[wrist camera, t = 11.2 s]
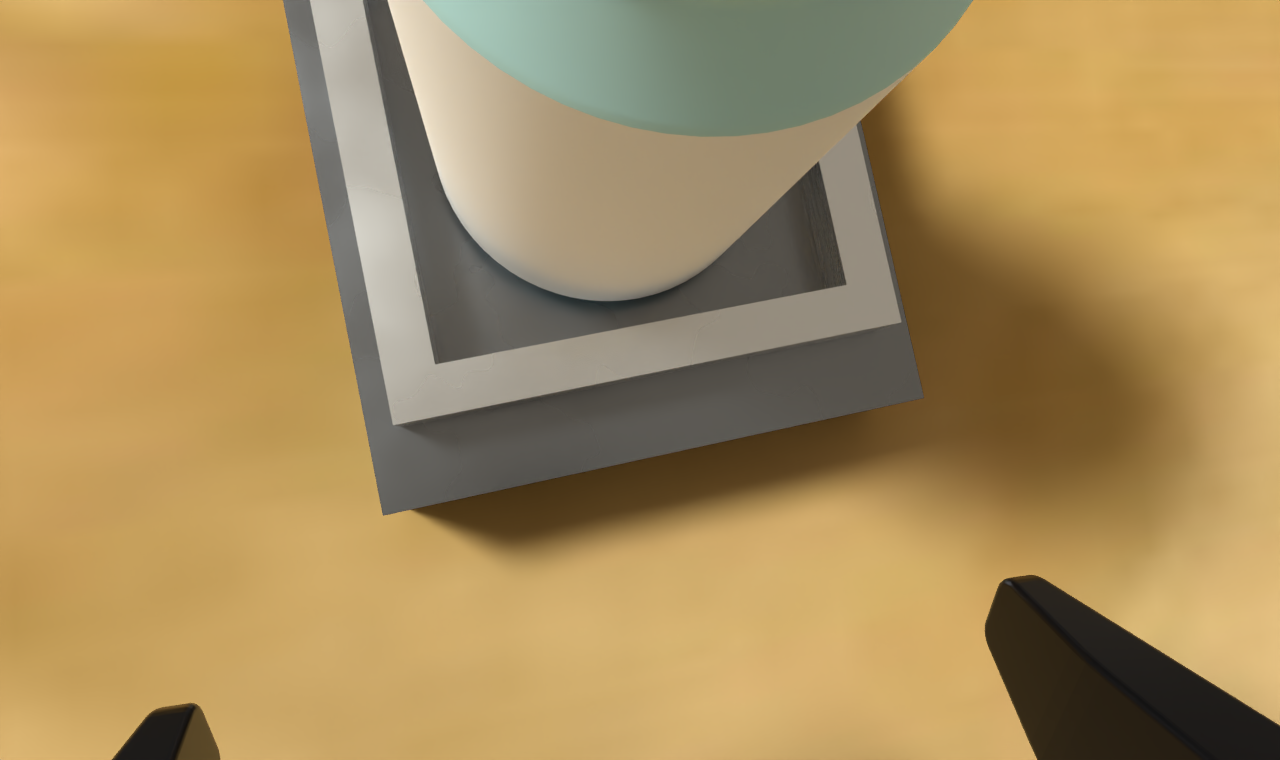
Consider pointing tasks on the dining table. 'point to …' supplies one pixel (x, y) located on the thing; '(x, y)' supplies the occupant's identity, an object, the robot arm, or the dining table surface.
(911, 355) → the grey rectangular tray
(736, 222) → the can
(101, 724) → the dining table surface
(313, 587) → the dining table surface
